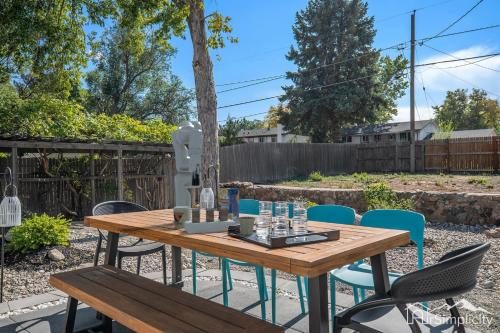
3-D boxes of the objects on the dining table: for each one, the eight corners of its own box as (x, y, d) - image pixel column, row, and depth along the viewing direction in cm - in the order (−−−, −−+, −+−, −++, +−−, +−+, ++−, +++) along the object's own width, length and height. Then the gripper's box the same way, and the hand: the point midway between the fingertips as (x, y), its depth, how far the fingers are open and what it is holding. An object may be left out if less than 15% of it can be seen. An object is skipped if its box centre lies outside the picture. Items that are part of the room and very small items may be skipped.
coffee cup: (169, 227, 226) (169, 207, 226) (179, 225, 234) (179, 206, 234) (182, 228, 221) (182, 207, 221) (192, 226, 230) (192, 206, 230)
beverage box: (226, 222, 246) (225, 188, 246) (239, 224, 239) (238, 188, 240) (218, 224, 241) (218, 188, 241) (231, 225, 234) (231, 189, 234)
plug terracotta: (219, 221, 219) (219, 207, 219) (225, 220, 220) (225, 206, 220) (221, 222, 215) (221, 207, 215) (228, 221, 217) (228, 207, 217)
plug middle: (205, 222, 216) (205, 207, 216) (212, 221, 217) (212, 207, 217) (207, 223, 212) (207, 208, 212) (214, 222, 214) (214, 208, 214)
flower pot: (258, 233, 204) (258, 216, 204) (252, 236, 195) (252, 219, 196) (241, 232, 208) (241, 216, 208) (235, 235, 199) (235, 218, 199)
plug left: (191, 223, 213) (191, 208, 213) (198, 222, 214) (198, 208, 214) (193, 223, 209) (193, 209, 209) (200, 223, 211) (200, 208, 211)
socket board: (184, 230, 215) (184, 221, 215) (228, 227, 225) (228, 219, 225) (189, 233, 204) (189, 224, 204) (235, 230, 214) (235, 221, 214)
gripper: (185, 152, 218) (185, 185, 218) (192, 151, 203) (192, 186, 203) (198, 152, 221) (198, 185, 221) (206, 151, 206) (206, 186, 206)
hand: (195, 185), depth 212 cm, fingers open, 3 cm apart
